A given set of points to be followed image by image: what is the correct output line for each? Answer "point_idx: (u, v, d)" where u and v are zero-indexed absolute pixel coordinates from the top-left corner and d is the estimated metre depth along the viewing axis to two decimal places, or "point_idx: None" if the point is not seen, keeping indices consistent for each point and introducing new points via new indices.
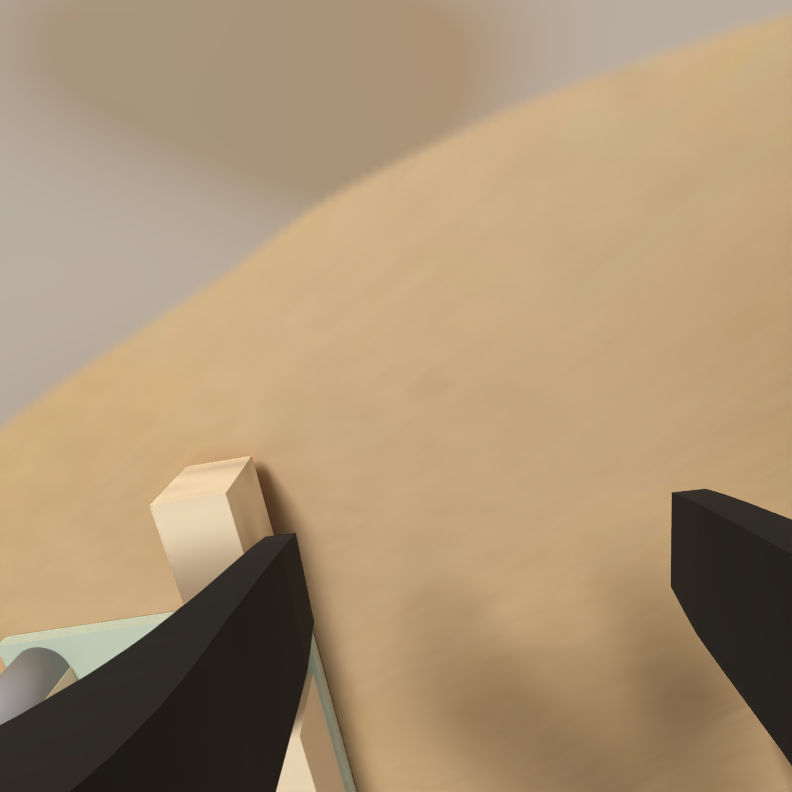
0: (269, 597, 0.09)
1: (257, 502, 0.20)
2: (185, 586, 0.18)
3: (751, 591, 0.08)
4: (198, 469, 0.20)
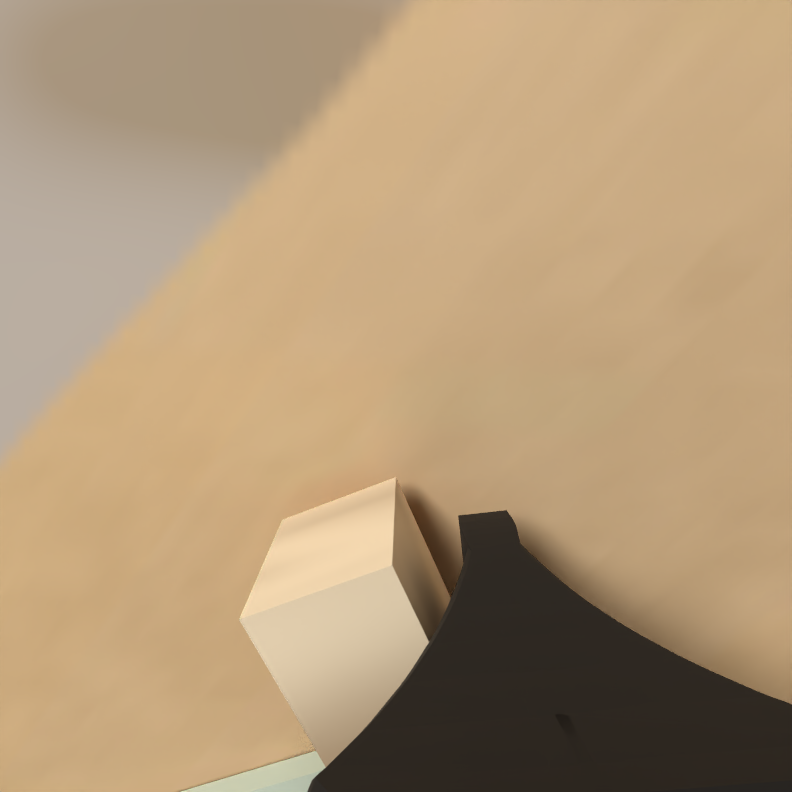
0: None
1: (426, 560, 0.11)
2: None
3: None
4: (306, 521, 0.11)
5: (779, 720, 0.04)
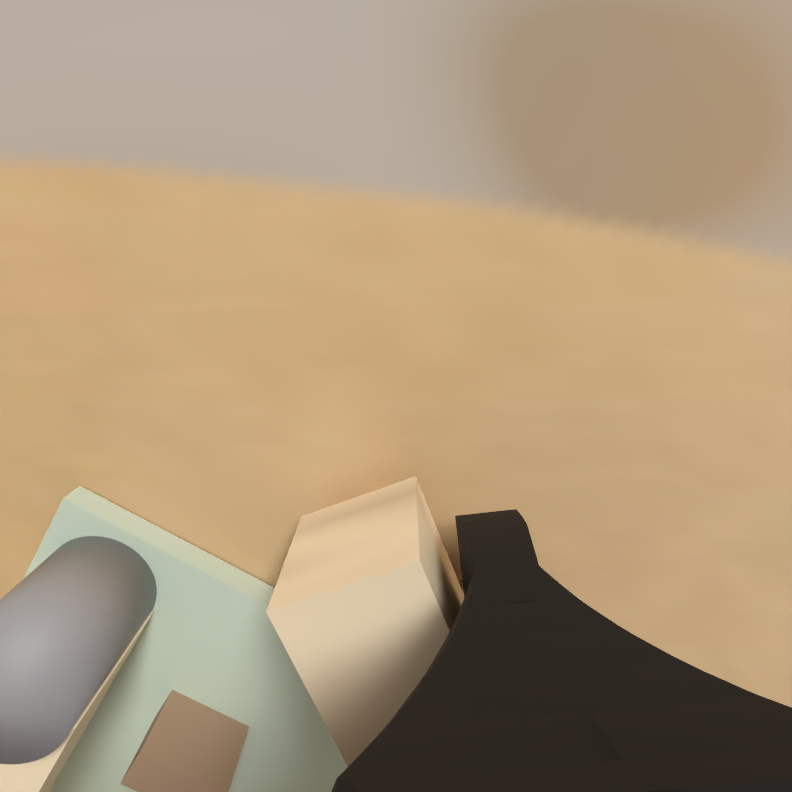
0: None
1: (444, 559, 0.11)
2: (358, 754, 0.09)
3: None
4: (326, 517, 0.11)
5: (771, 721, 0.04)
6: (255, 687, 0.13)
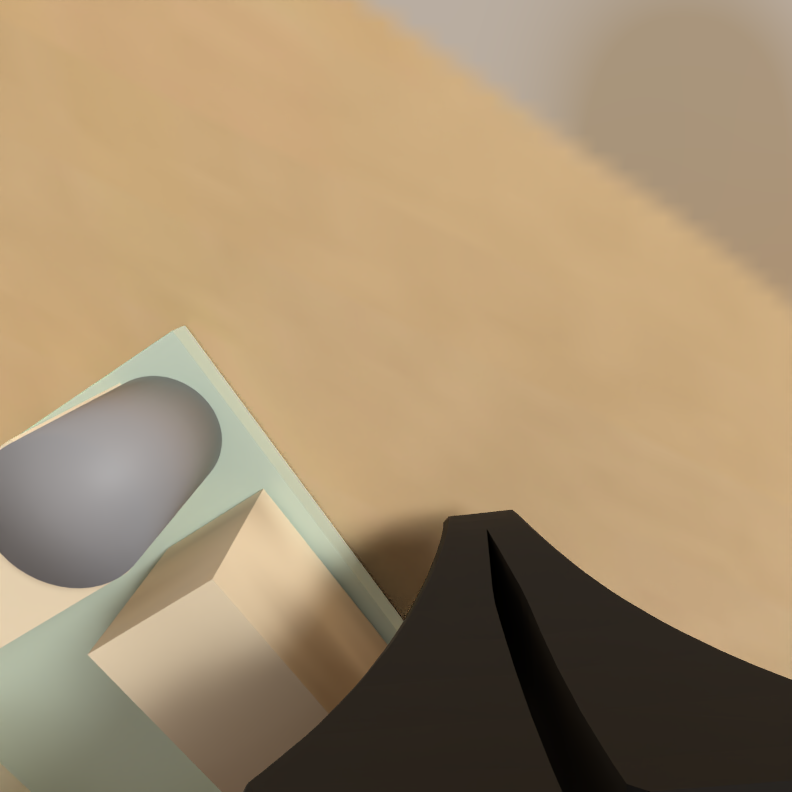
0: None
1: (303, 564, 0.11)
2: (224, 775, 0.09)
3: (510, 615, 0.08)
4: (182, 546, 0.11)
5: None
6: None
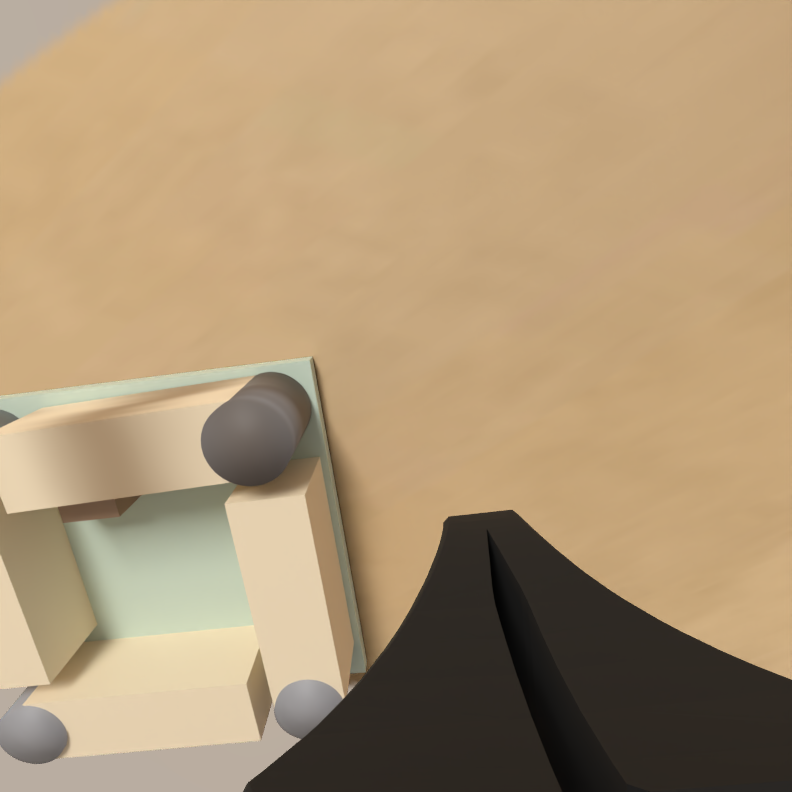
0: None
1: (73, 407, 0.18)
2: (100, 492, 0.17)
3: (510, 615, 0.08)
4: None
5: None
6: None
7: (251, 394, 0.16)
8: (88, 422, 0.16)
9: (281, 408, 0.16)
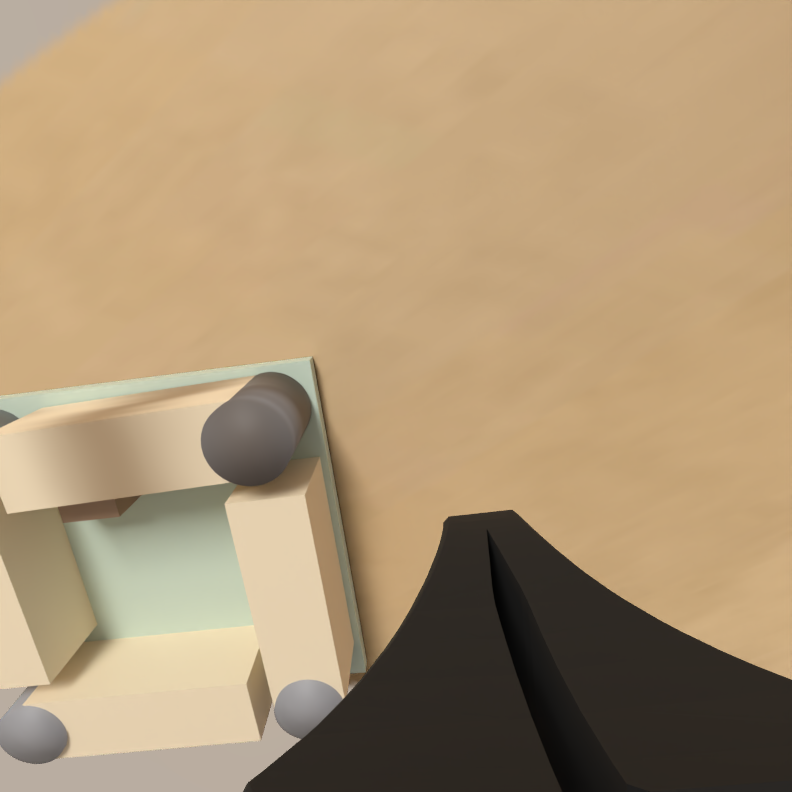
0: None
1: (73, 407, 0.18)
2: (100, 492, 0.17)
3: (510, 615, 0.08)
4: None
5: None
6: None
7: (251, 394, 0.16)
8: (88, 422, 0.16)
9: (281, 408, 0.16)
